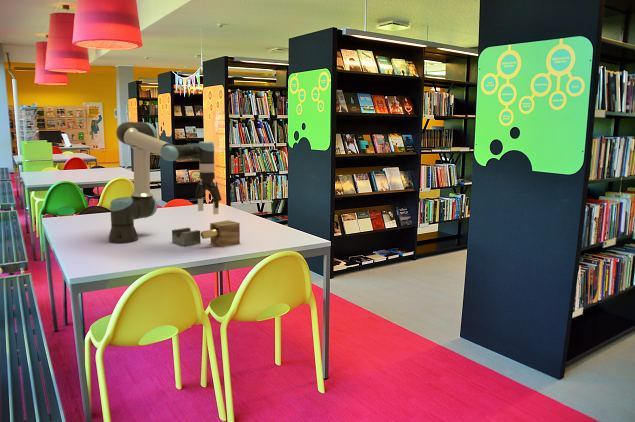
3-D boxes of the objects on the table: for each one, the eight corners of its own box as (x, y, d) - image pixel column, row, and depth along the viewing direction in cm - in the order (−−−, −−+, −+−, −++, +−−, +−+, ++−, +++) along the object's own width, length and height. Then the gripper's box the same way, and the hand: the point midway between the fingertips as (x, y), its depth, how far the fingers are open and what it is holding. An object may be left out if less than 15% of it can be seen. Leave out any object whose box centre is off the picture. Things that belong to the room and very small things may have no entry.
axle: (205, 239, 257) (205, 231, 257) (200, 238, 260) (200, 230, 259) (233, 234, 270) (233, 227, 270) (228, 233, 273) (228, 226, 272)
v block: (172, 242, 271) (171, 230, 270) (188, 239, 278) (187, 227, 277) (184, 246, 263) (184, 233, 262) (200, 243, 270) (200, 230, 269)
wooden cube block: (210, 244, 269) (210, 223, 267) (228, 240, 277) (228, 220, 275) (221, 247, 262) (221, 225, 260) (239, 243, 271) (239, 222, 269)
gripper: (227, 173, 250) (228, 214, 253) (199, 169, 266) (200, 208, 270) (215, 173, 244) (216, 216, 248) (187, 170, 261) (188, 210, 265)
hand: (208, 212), depth 259 cm, fingers open, 13 cm apart
